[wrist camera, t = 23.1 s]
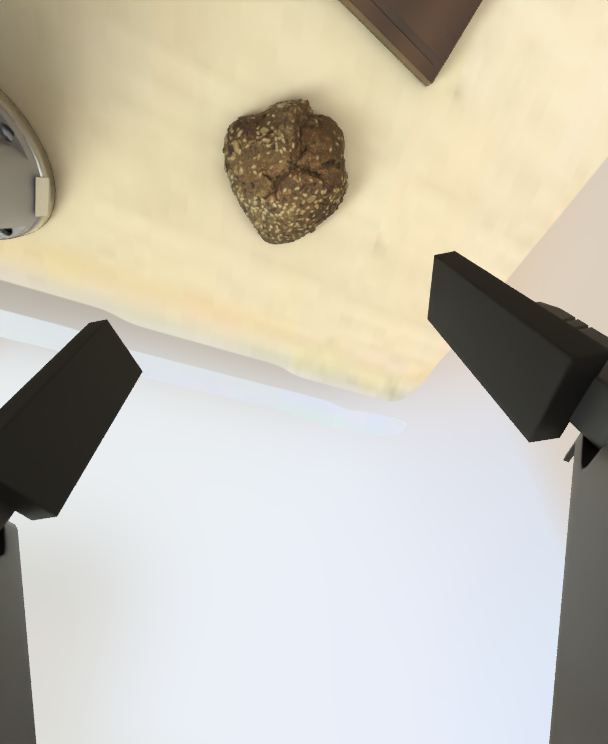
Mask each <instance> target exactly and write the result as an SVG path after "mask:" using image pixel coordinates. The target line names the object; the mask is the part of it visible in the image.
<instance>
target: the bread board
mask: <svg viewBox="0 0 608 744" xmlns="http://www.w3.org/2000/svg"><path fill="white" fill-rule="evenodd" d="M339 1H341V2H342V3H343V4H344V5H345V6H346V7H347V8H348V9H349V10H350V11H351V12H352V13H353V14H354V15H355V16H356V17H357V18H358V19H359V20H360V21H361V22H362V23H363V24H364V25H365V26H366V27H367V28H368V29H369V30H370V31H371V32H372V33H373V34H374V35H375V36H376V37H377V38H378V39H379V40H380V41H381V42H382V43H383V44H384V45H385V46H386V47H387V48H388V49H389V50H390V51H391V52H392V53H393V54H394V55H395V56H396V57H397V58H398V59H399V60H400V61H401V62H402V63H403V64H404V65H405V66H406V67H407V68H408V69H409V70H410V71H411V72H412V73H413V74H414V75H415V76H416V77H417V78H418V79H419V80H420V81H421V82H422V83H423V84H424V85H425V86H428V85H430V84H432V83H433V81H434V80H435V78H436V76H437V75H438V73H439V72H440V70H441V68H442V67H443V65H444V63H445V62H446V60H447V58H448V57H449V55H450V53H451V52H452V50H453V48H454V47H455V45H456V43H457V42H458V40H459V38H460V37H461V35H462V33H463V32H464V30H465V28H466V27H467V25H468V23H469V22H470V20H471V19H472V17H473V15H474V14H475V12H476V10H477V9H478V7H479V5H480V4H481V2H482V0H339Z"/></svg>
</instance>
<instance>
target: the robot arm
mask: <svg viewBox="0 0 608 744" xmlns="http://www.w3.org/2000/svg"><path fill="white" fill-rule="evenodd" d="M54 201H55V185H54V179H53V174H52V170H51V167H50V164H49V161H48V158H47V156H46V153H45V151H44V149H43V147H42V145H41V143H40V141H39V139H38V137H37V136H36V134H35V132H34V131H33V129H32V128H31V126H30V125H29V123H28V122H27V120H26V119H25V118H24V116H23V115H22V114H21V112H20V111H19V110H18V109H17V108H16V107H15V105H14V104H13V103H12V102H11V101H10V100H9V99H8V98H7V97H6V96H5V95H4V94H3V93H2V92H1V91H0V240H4V239H12V238H16V237H20V236H23V235H27V234H30V233H32V232H35V231H36V230H38V229H39V228H41V227H42V226H43V225H44V224H45V223H46V222H47V220H48V219H49V217H50V215H51V213H52V210H53V207H54ZM428 320H429V321H430V323H431V324H432V325H433V326H434V328H435V329H436V330H437V331H438V332H439V334H440V335H441V336H442V337H443V338H444V340H445V341H446V342H447V343H448V344H449V346H450V347H451V348H452V349H453V351H454V352H455V353H456V354H457V355H458V357H459V358H460V359H461V360H462V361H463V363H464V364H465V365H466V366H467V368H468V369H469V370H470V371H471V372H472V374H473V375H474V376H475V377H476V378H477V380H478V381H479V382H480V383H481V385H482V386H483V387H484V388H485V389H486V391H487V392H488V393H489V394H490V395H491V397H492V398H493V399H494V400H495V401H496V403H497V404H498V405H499V406H500V408H501V409H502V410H503V411H504V412H505V414H506V415H507V416H508V417H509V418H510V420H511V421H512V422H513V423H514V425H515V426H516V427H517V428H518V429H519V431H520V432H521V433H522V434H523V435H524V437H525V438H526V439H527V440H528V441H529V442H535V441H541V440H548V439H554V438H560V436H561V434H562V433H563V432H564V430H565V428H566V427H567V425H568V423H569V422H571V423H572V424H573V425H574V426H575V427H576V428H577V429H578V430H579V431H580V432H581V433H580V435H579V436H578V438H577V439H576V441H575V442H574V444H573V445H572V447H571V448H570V450H569V451H568V452H567V454H566V456H565V458H564V461H567V462H569V461H570V459H571V458H572V457H573V456H574V464H573V476H572V487H571V499H570V511H569V522H568V533H567V546H566V557H565V569H564V580H563V592H562V603H561V615H560V626H559V637H558V649H557V661H556V672H555V684H554V696H553V707H552V718H551V730H550V741H549V744H608V337H607V336H605V335H603V334H601V333H600V332H598V331H597V330H595V329H593V328H592V327H591V328H588V325H587V324H585V323H584V322H582V321H580V320H575V317H573V316H572V315H570V314H569V313H567V312H565V311H564V310H562V309H560V308H557V307H554V306H551V305H548V304H545V303H542V302H534V301H532V300H531V299H529V298H528V297H526V296H525V295H523V294H521V293H519V292H518V291H517V290H515V289H514V288H512V287H510V286H509V285H507V284H506V283H504V282H503V281H501V280H499V279H498V278H496V277H495V276H493V275H492V274H490V273H488V272H487V271H485V270H484V269H482V268H481V267H479V266H477V265H476V264H474V263H473V262H471V261H470V260H468V259H466V258H465V257H463V256H462V255H460V254H459V253H457V252H455V251H453V252H448V253H443V254H438V255H434V264H433V273H432V282H431V291H430V300H429V310H428ZM141 373H142V370H141V368H140V367H139V366H138V364H137V363H136V361H135V360H134V358H133V357H132V355H131V354H130V352H129V351H128V349H127V348H126V347H125V345H124V344H123V342H122V341H121V339H120V338H119V336H118V335H117V333H116V332H115V331H114V329H113V328H112V326H111V325H110V323H109V322H108V320H102V321H97V322H91V323H89V324H88V325H87V326H86V327H84V329H82V330H81V331H80V332H79V333H78V334H77V335H76V336H75V337H74V338H73V339H72V340H71V341H70V342H69V343H68V344H67V345H66V346H65V347H64V348H63V349H62V350H61V351H60V352H59V353H57V355H55V356H54V357H53V359H51V360H50V361H49V362H48V363H47V364H46V365H45V366H44V367H43V368H42V369H41V370H40V371H39V372H38V373H37V374H36V375H35V376H34V377H33V378H32V379H31V380H30V381H28V382H27V383H26V384H25V385H24V386H23V387H22V388H21V389H20V390H19V391H18V392H17V393H16V394H15V395H14V396H13V397H12V398H11V399H10V400H9V401H8V402H7V403H6V404H5V405H4V406H3V407H2V408H1V409H0V744H36V736H35V724H34V713H33V701H32V690H31V678H30V667H29V655H28V644H27V632H26V621H25V609H24V598H23V586H22V575H21V565H20V564H21V563H20V552H19V541H18V530H17V527H16V526H15V524H13V523H11V522H9V521H8V520H9V518H10V517H11V516H12V514H13V513H14V511H17V512H19V513H20V514H22V515H24V516H25V517H27V518H29V519H31V520H37V519H43V518H50V517H57V515H58V514H59V512H60V510H61V509H62V507H63V505H64V504H65V502H66V500H67V498H68V497H69V495H70V493H71V491H72V490H73V488H74V486H75V485H76V483H77V482H78V480H79V478H80V477H81V475H82V473H83V471H84V470H85V468H86V466H87V465H88V463H89V461H90V460H91V458H92V456H93V454H94V453H95V451H96V449H97V447H98V446H99V444H100V443H101V441H102V439H103V438H104V436H105V434H106V432H107V431H108V429H109V427H110V426H111V424H112V422H113V421H114V419H115V417H116V416H117V414H118V412H119V410H120V409H121V407H122V405H123V404H124V402H125V400H126V399H127V397H128V395H129V393H130V392H131V390H132V388H133V387H134V385H135V383H136V382H137V380H138V378H139V377H140V375H141Z"/></svg>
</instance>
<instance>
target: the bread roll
mask: <svg viewBox="0 0 608 744" xmlns="http://www.w3.org/2000/svg"><path fill="white" fill-rule="evenodd" d="M227 130H228V134H227V135H226V136H225V138H224V140H225V142H224V148H223V153H225V164H224V169H225V171H226V172H227V175H228V178H229V180H230V184H231V187H232V191H233V193H234V195H236V198H237V199H238V201H239V204H240V206H241V207H242V209H243V210H244V212H245V214H246V215H247V217H248V218H249V220H250V221H251V223H252V224H253V225H254V228H256V229H257V230H258V234H260V235H261V237H262V238H263V240H264V241H265V242H268V243H271V244H282V243H289V242H294V241H295V240H296V239H300V238H301V237H304V236H305V234H307V233H309V232H310V233H312V232H314V231H315V227H317V226H318V225H319V224H320V223H322V221H323V220H326V219H327V217H329V216H330V215H332V214H333V213H334V211H335V210H337V209H338V205H339V204H340V203H341V202H342V201H343V196H344V194H346V191H347V188H348V181H347V179H348V174H347V172H346V170H345V159H344V156H343V154H344V147H345V145H344V137H343V132H342V130H341V129H340V128H339V127H338V125H337V123H336V122H335V121H333V120H332V119H331V118H330V117H327V116H324V115H316V114H313V111H312V110H311V107H310V106H309V101H308V100H302V99H299V100H291V101H285V102H280V103H276V104H274V105H272V106H270V107H269V109H268V110H266V111H264V112H262V113H260V114H256V115H249V116H244V117H239V118H238V120H237V121H235V122H233V123H232V124H231V126H230V125H229V128H228V129H227Z"/></svg>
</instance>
